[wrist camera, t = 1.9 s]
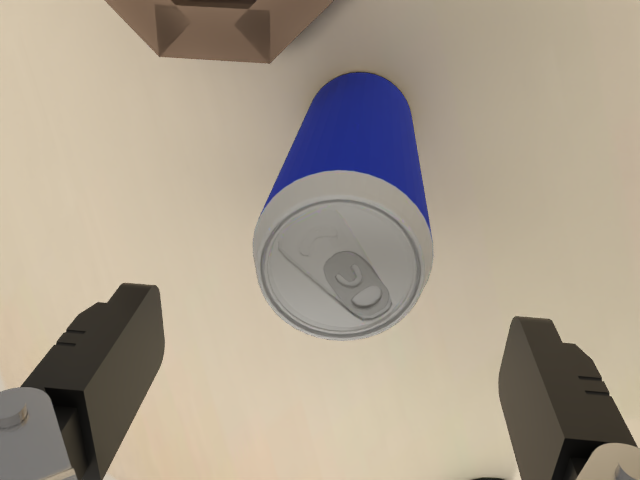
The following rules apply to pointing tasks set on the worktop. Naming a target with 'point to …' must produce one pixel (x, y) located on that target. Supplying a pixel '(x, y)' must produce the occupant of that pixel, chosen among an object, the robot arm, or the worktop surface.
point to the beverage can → (347, 216)
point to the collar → (219, 26)
